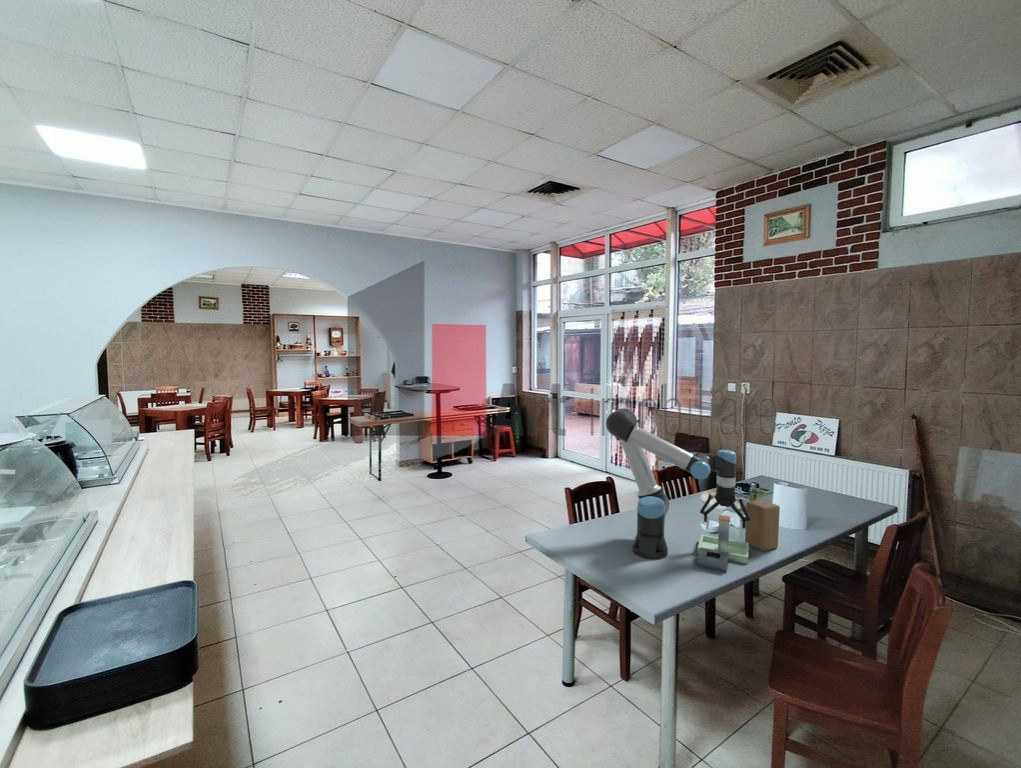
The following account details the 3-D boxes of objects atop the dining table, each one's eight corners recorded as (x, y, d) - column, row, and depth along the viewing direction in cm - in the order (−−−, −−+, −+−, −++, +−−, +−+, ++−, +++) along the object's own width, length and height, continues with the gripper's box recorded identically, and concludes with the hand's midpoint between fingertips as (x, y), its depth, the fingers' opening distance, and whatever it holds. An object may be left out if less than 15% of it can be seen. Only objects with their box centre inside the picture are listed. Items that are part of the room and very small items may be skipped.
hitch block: (697, 566, 195) (697, 557, 194) (700, 556, 204) (700, 547, 204) (726, 572, 189) (727, 563, 189) (728, 561, 199) (728, 552, 199)
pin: (717, 550, 208) (718, 518, 206) (718, 547, 212) (719, 514, 210) (728, 553, 205) (729, 519, 204) (729, 549, 209) (730, 516, 208)
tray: (697, 554, 206) (697, 547, 206) (701, 540, 220) (701, 534, 220) (748, 564, 197) (748, 557, 197) (748, 549, 211) (748, 542, 211)
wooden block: (744, 543, 218) (745, 501, 216) (760, 539, 221) (761, 498, 220) (762, 551, 208) (764, 508, 207) (778, 548, 212) (780, 505, 210)
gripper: (694, 483, 209) (693, 529, 210) (757, 491, 197) (755, 540, 199) (696, 479, 215) (695, 524, 217) (757, 487, 204) (755, 534, 205)
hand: (724, 532), depth 208 cm, fingers open, 13 cm apart
